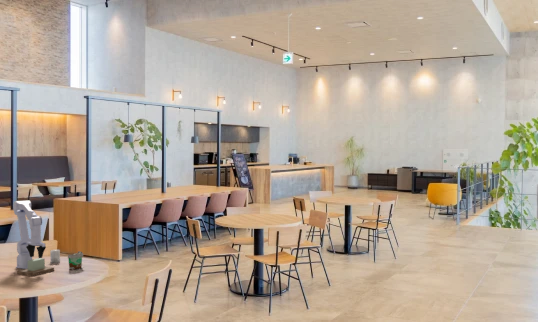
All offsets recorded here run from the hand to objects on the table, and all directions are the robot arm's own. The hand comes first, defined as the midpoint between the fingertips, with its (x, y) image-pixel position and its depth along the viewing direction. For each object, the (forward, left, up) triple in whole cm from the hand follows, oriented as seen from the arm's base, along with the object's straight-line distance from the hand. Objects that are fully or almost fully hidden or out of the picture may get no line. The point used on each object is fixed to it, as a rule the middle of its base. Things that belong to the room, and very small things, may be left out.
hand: (36, 257), depth 333 cm
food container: (+16, +18, -10) cm, 26 cm away
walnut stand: (0, -1, -9) cm, 9 cm away
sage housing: (0, 0, -7) cm, 7 cm away
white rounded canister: (-13, +26, -10) cm, 31 cm away
